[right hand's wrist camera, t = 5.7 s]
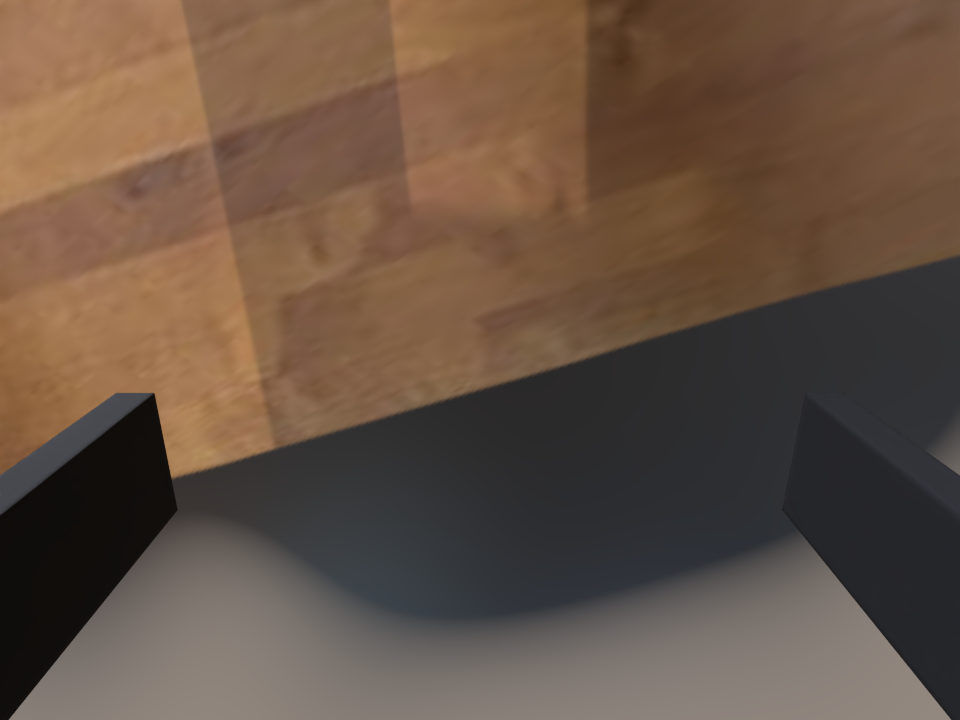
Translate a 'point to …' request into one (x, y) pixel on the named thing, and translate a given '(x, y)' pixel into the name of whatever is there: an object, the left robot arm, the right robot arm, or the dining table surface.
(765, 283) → the dining table surface
